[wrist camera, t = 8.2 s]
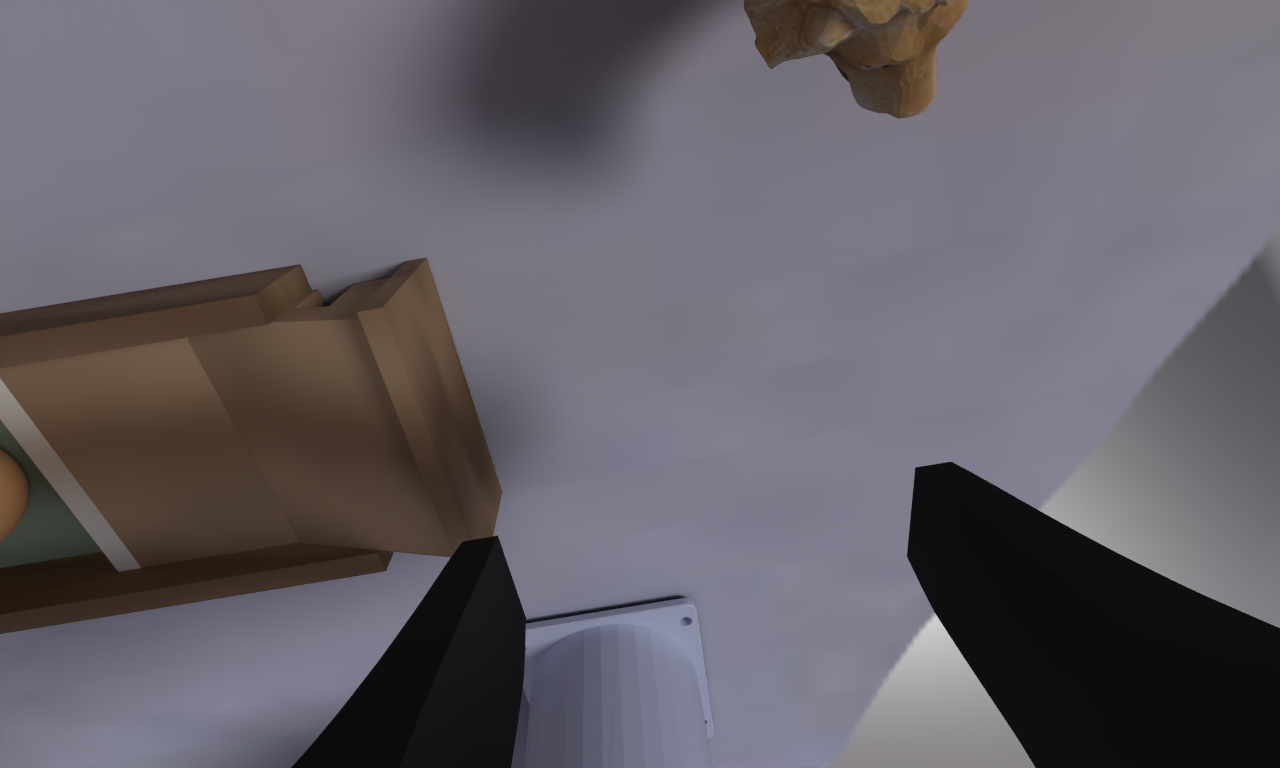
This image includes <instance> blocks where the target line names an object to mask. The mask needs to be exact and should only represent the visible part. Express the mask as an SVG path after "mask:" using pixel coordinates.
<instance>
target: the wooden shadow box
mask: <svg viewBox="0 0 1280 768" xmlns="http://www.w3.org/2000/svg"><path fill="white" fill-rule="evenodd" d="M0 449H2V450H3V451H5V452H6V453H8V454H9V455H10V456H11V457H12V458H14V459H15V460H16V462H17V463H18V464H19V465H20V467H21V468H22V470H23V471H24V473H25V476H26V478H27V481H28V486H29V500H28V504H27V508H26V510H25V513H24V515H23V517H22V519H21V520H20V522H19V524H18V525H17V526H16V527H15V529H14V530H13V531H12V532H11V533H10V534H9V535H8V536H7V537H6V538H5V539H4V540H3V541H1V542H0V634H2V633H9V632H15V631H21V630H27V629H33V628H39V627H45V626H52V625H58V624H64V623H70V622H76V621H82V620H88V619H95V618H101V617H107V616H113V615H119V614H125V613H131V612H137V611H144V610H150V609H156V608H162V607H168V606H174V605H180V604H187V603H193V602H199V601H205V600H211V599H217V598H223V597H229V596H236V595H242V594H248V593H254V592H260V591H266V590H272V589H279V588H285V587H291V586H297V585H303V584H309V583H315V582H322V581H328V580H334V579H340V578H346V577H352V576H358V575H364V574H371V573H377V572H383V571H386V569H387V567H388V565H389V562H390V560H391V557H392V555H393V552H402V553H413V554H424V555H434V556H445V557H452V555H453V554H454V552H455V551H456V550H457V548H458V547H459V546H460V544H461V543H462V542H463V541H468V540H474V539H480V538H487V537H493V533H494V528H495V523H496V518H497V514H498V509H499V504H500V499H501V495H502V491H501V488H500V484H499V481H498V478H497V475H496V472H495V469H494V466H493V463H492V460H491V456H490V453H489V450H488V447H487V444H486V441H485V438H484V435H483V432H482V429H481V425H480V422H479V419H478V416H477V413H476V410H475V407H474V404H473V401H472V397H471V394H470V391H469V388H468V385H467V382H466V379H465V376H464V373H463V370H462V366H461V363H460V360H459V357H458V354H457V351H456V348H455V345H454V342H453V338H452V335H451V332H450V329H449V326H448V323H447V320H446V317H445V314H444V311H443V307H442V304H441V301H440V298H439V295H438V292H437V289H436V286H435V283H434V279H433V276H432V273H431V270H430V267H429V264H428V261H427V258H423V259H417V260H411V261H406V262H405V263H404V264H403V265H402V266H401V267H400V268H399V269H398V270H397V271H396V272H395V273H394V274H393V275H392V276H391V277H390V278H385V279H378V280H372V281H366V282H360V283H354V284H353V285H352V286H351V287H350V288H349V289H348V290H347V291H346V292H344V293H343V294H342V295H341V296H340V297H339V298H338V299H337V300H335V301H334V302H333V303H332V304H331V305H330V306H325V304H324V302H323V300H322V297H321V295H320V292H319V290H318V289H317V290H311V288H310V286H309V283H308V281H307V279H306V276H305V274H304V272H303V269H302V267H301V265H294V266H288V267H282V268H276V269H270V270H264V271H258V272H252V273H245V274H239V275H233V276H227V277H221V278H215V279H209V280H203V281H197V282H191V283H184V284H178V285H172V286H166V287H160V288H154V289H148V290H142V291H136V292H129V293H123V294H117V295H111V296H105V297H99V298H93V299H87V300H81V301H74V302H68V303H62V304H56V305H50V306H44V307H38V308H32V309H26V310H19V311H13V312H7V313H1V314H0Z"/></svg>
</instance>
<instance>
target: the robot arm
mask: <svg viewBox="0 0 1280 768" xmlns="http://www.w3.org/2000/svg"><path fill="white" fill-rule="evenodd" d="M907 557H908V559H909V561H910V564H911V566H912V568H913V570H914V572H915V574H916V576H917V578H918V580H919V582H920V585H921V587H922V589H923V590H924V592H925V594H926V596H927V598H928V600H929V602H930V604H931V606H932V608H933V610H934V612H935V613H936V615H937V616H938V618H939V620H940V621H941V623H942V624H943V626H944V627H945V629H946V630H947V632H948V634H949V635H950V637H951V638H952V639H953V641H954V643H955V644H956V646H957V647H958V649H959V650H960V652H961V653H962V655H963V657H964V658H965V660H966V661H967V662H968V664H969V666H970V667H971V669H972V670H973V672H974V673H975V675H976V676H977V678H978V679H979V681H980V682H981V684H982V685H983V687H984V688H985V689H986V691H987V693H988V694H989V696H990V697H991V698H992V700H993V702H994V703H995V705H996V706H997V708H998V709H999V711H1000V712H1001V714H1002V715H1003V717H1004V718H1005V720H1006V721H1007V723H1008V724H1009V726H1010V727H1011V729H1012V731H1013V732H1014V733H1015V735H1016V737H1017V738H1018V739H1019V741H1020V743H1021V744H1022V746H1023V748H1024V749H1025V751H1026V753H1027V754H1028V756H1029V757H1030V759H1031V761H1032V762H1033V764H1034V766H1035V767H1036V768H1280V628H1278V627H1275V626H1273V625H1271V624H1268V623H1266V622H1264V621H1262V620H1259V619H1257V618H1255V617H1252V616H1250V615H1248V614H1246V613H1243V612H1241V611H1239V610H1236V609H1234V608H1232V607H1229V606H1227V605H1225V604H1223V603H1220V602H1218V601H1216V600H1213V599H1211V598H1209V597H1206V596H1204V595H1202V594H1200V593H1198V592H1196V591H1194V590H1192V589H1189V588H1187V587H1185V586H1183V585H1181V584H1178V583H1177V582H1174V581H1172V580H1170V579H1168V578H1166V577H1164V576H1162V575H1160V574H1158V573H1156V572H1154V571H1152V570H1150V569H1148V568H1146V567H1144V566H1142V565H1140V564H1138V563H1136V562H1134V561H1132V560H1130V559H1128V558H1126V557H1124V556H1122V555H1120V554H1118V553H1116V552H1114V551H1112V550H1110V549H1108V548H1106V547H1105V546H1103V545H1101V544H1099V543H1097V542H1095V541H1093V540H1092V539H1089V538H1088V537H1086V536H1084V535H1082V534H1080V533H1078V532H1076V531H1075V530H1073V529H1071V528H1069V527H1068V526H1066V525H1064V524H1062V523H1060V522H1058V521H1057V520H1055V519H1053V518H1051V517H1049V516H1048V515H1046V514H1044V513H1042V512H1040V511H1039V510H1037V509H1035V508H1033V507H1032V506H1030V505H1028V504H1026V503H1025V502H1023V501H1021V500H1019V499H1017V498H1016V497H1014V496H1012V495H1010V494H1009V493H1007V492H1005V491H1003V490H1002V489H1000V488H998V487H996V486H995V485H993V484H991V483H989V482H988V481H986V480H984V479H982V478H980V477H979V476H977V475H975V474H973V473H971V472H970V471H968V470H966V469H964V468H962V467H960V466H958V465H956V464H954V463H952V462H947V463H941V464H934V465H928V466H922V467H916V468H915V478H914V489H913V499H912V510H911V520H910V531H909V541H908V552H907ZM685 617H688V618H685ZM522 689H523V690H524V692H525V695H526V698H527V700H528V703H529V706H530V709H529V719H528V730H527V740H526V751H525V761H524V768H713V763H712V758H711V752H710V746H709V741H708V740H709V739H710V738H711V737H712V736H713V734H714V730H713V723H712V716H711V709H710V702H709V695H708V688H707V681H706V674H705V667H704V660H703V652H702V645H701V638H700V631H699V624H698V617H697V610H696V605H695V603H694V601H693V600H691V599H688V598H680V599H674V600H668V601H662V602H656V603H649V604H643V605H637V606H631V607H625V608H619V609H613V610H606V611H600V612H594V613H588V614H582V615H576V616H570V617H563V618H557V619H551V620H545V621H539V622H533V623H527V624H526V617H525V614H524V611H523V608H522V605H521V602H520V599H519V597H518V594H517V591H516V588H515V585H514V582H513V579H512V576H511V573H510V570H509V567H508V564H507V561H506V558H505V556H504V553H503V550H502V547H501V544H500V541H499V538H498V536H493V537H487V538H480V539H474V540H468V541H463V542H462V543H461V544H460V546H459V547H458V548H457V550H456V551H455V552H454V554H453V555H452V557H451V558H450V560H449V561H448V563H447V564H446V566H445V567H444V569H443V570H442V572H441V573H440V575H439V576H438V577H437V579H436V580H435V582H434V583H433V585H432V586H431V588H430V589H429V591H428V592H427V594H426V595H425V597H424V598H423V600H422V601H421V602H420V604H419V605H418V607H417V608H416V610H415V611H414V613H413V614H412V615H411V617H410V618H409V620H408V621H407V622H406V624H405V625H404V627H403V628H402V629H401V631H400V632H399V634H398V635H397V636H396V638H395V639H394V641H393V642H392V643H391V645H390V646H389V648H388V649H387V650H386V652H385V653H384V655H383V656H382V657H381V659H380V660H379V661H378V663H377V664H376V665H375V666H374V668H373V669H372V670H371V672H370V673H369V674H368V675H367V677H366V678H365V679H364V681H363V682H362V683H361V684H360V686H359V687H358V688H357V690H356V691H355V692H354V693H353V695H352V696H351V697H350V699H349V700H348V701H347V702H346V704H345V705H344V706H343V708H342V709H341V710H340V711H339V713H338V714H337V715H336V716H335V717H334V719H333V720H332V721H331V722H330V723H329V725H328V726H327V727H326V728H325V730H324V731H323V732H322V733H321V734H320V735H319V737H318V738H317V739H316V740H315V741H314V743H313V744H312V745H311V746H310V747H309V748H308V750H307V751H306V752H305V753H304V754H303V755H302V756H301V757H300V758H299V760H298V761H297V762H296V763H295V764H294V765H293V766H292V767H291V768H511V764H512V757H513V750H514V744H515V737H516V730H517V724H518V717H519V710H520V703H521V696H522Z"/></svg>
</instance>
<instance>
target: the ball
mask: <svg viewBox="0 0 1280 768" xmlns="http://www.w3.org/2000/svg"><path fill="white" fill-rule="evenodd" d="M28 500H29V486H28V481H27V478H26V476H25V473H24V471H23V470H22V468H21V467H20V465H19V464H18V463H17V462H16V460H15V459H14V458H12V457H11V456H10V455H9V454H8V453H6V452H5V451H3V450H2V449H0V542H1V541H3V540H4V539H5V538H6V537H7V536H8V535H9V534H10V533H11V532H12V531H13V530H14V529H15V527H16V526H17V525H18V524H19V522H20V520H21V519H22V517H23V515H24V513H25V510H26V508H27V504H28Z"/></svg>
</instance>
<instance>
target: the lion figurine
mask: <svg viewBox="0 0 1280 768" xmlns="http://www.w3.org/2000/svg"><path fill="white" fill-rule="evenodd" d="M967 4H968V0H744V9H745V11H746V13H747V15H748V17H749V19H750V23H751V25H752V27H753V29H754V31H755V33H756V40H755V45H756V48H757V50H758V51H759V52H760V54H761V55H762V57H763V58H764V60H765V61H766V63H767V65H768V66H769V68H771V69H772V68H774V67H775V66H777V65H778V64H780V63H782V62H784V61H788V60H792V59H800V58H804V57H808V56H812V55H818V54H825V55H827V56H829V57H830V58H831V59H832V60H833V62H834V63H835V64H836V66H837V68H838V70H839V71H840V73H841V74H842V76H843V77H844V78H845V79H846V80H847V81H848V82H849V83H850V86H851V90H852V93H853V96H854V98H855V100H856V102H857V103H858V104H859V105H860V106H861V107H862V108H864V109H867V110H870V111H873V112H877V113H888V114H890V115H892V116H894V117H896V118H905V117H911V116H914V115H917V114H920V113H921V112H923V111H924V110H925V109H927V108H928V106H929V105H930V103H931V102H932V100H933V98H934V96H935V94H936V91H937V86H936V54H935V50H936V45H937V44H938V43H939V42H940V41H941V40H942V39H943V38H944V37H945V36H946V35H947V34H948V33H949V32H950V31H951V29H952V28H953V26H954V25H955V23H956V22H957V21H958V20H959V19H960V18H961V16H962V15H963V13H964V11H965V9H966V7H967Z"/></svg>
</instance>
